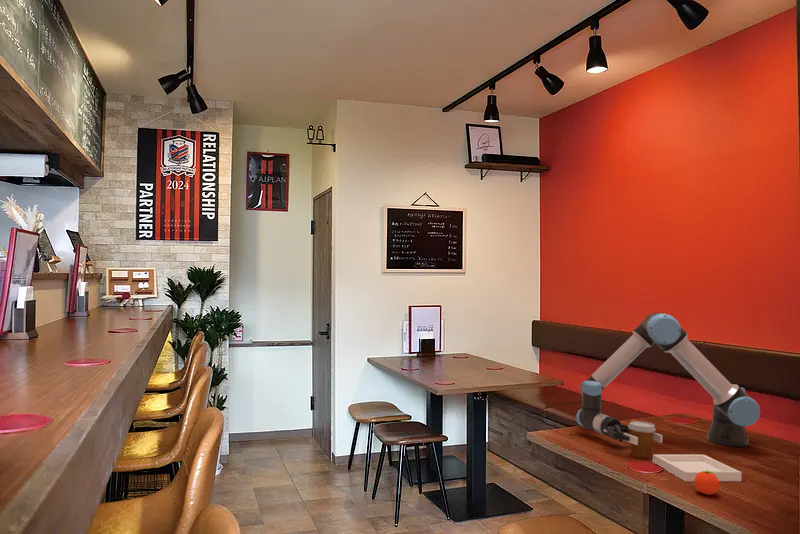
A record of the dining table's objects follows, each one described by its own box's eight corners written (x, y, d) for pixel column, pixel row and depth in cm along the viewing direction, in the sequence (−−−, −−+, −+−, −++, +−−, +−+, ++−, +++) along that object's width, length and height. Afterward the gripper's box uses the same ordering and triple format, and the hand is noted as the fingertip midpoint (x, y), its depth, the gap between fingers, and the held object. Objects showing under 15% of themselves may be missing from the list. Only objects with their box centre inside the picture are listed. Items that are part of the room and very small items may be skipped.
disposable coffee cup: (656, 461, 227) (658, 428, 227) (629, 458, 229) (630, 425, 229) (651, 454, 236) (653, 422, 236) (625, 451, 238) (626, 419, 238)
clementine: (701, 488, 199) (702, 465, 199) (724, 494, 194) (725, 471, 194) (690, 493, 194) (690, 470, 194) (713, 499, 188) (714, 476, 188)
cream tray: (703, 462, 227) (703, 454, 227) (741, 481, 207) (741, 472, 207) (652, 462, 224) (652, 454, 224) (685, 481, 205) (686, 472, 205)
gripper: (629, 433, 253) (672, 448, 233) (583, 437, 244) (624, 452, 224) (630, 414, 253) (673, 428, 233) (584, 417, 244) (625, 431, 224)
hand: (649, 440), depth 229 cm, fingers open, 11 cm apart
